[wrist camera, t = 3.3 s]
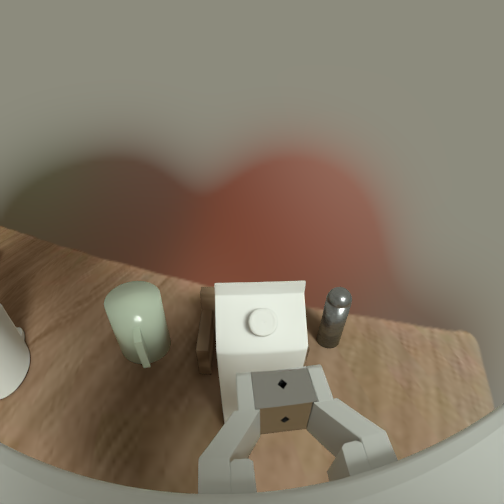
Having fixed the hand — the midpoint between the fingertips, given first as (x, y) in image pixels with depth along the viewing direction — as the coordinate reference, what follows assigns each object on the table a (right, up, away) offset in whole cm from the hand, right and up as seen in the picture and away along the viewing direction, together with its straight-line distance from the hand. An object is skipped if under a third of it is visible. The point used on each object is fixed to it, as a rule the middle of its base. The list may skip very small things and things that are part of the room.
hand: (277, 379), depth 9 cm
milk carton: (-1, -15, +22) cm, 26 cm away
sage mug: (-17, -10, +29) cm, 35 cm away
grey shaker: (+11, -9, +32) cm, 35 cm away
